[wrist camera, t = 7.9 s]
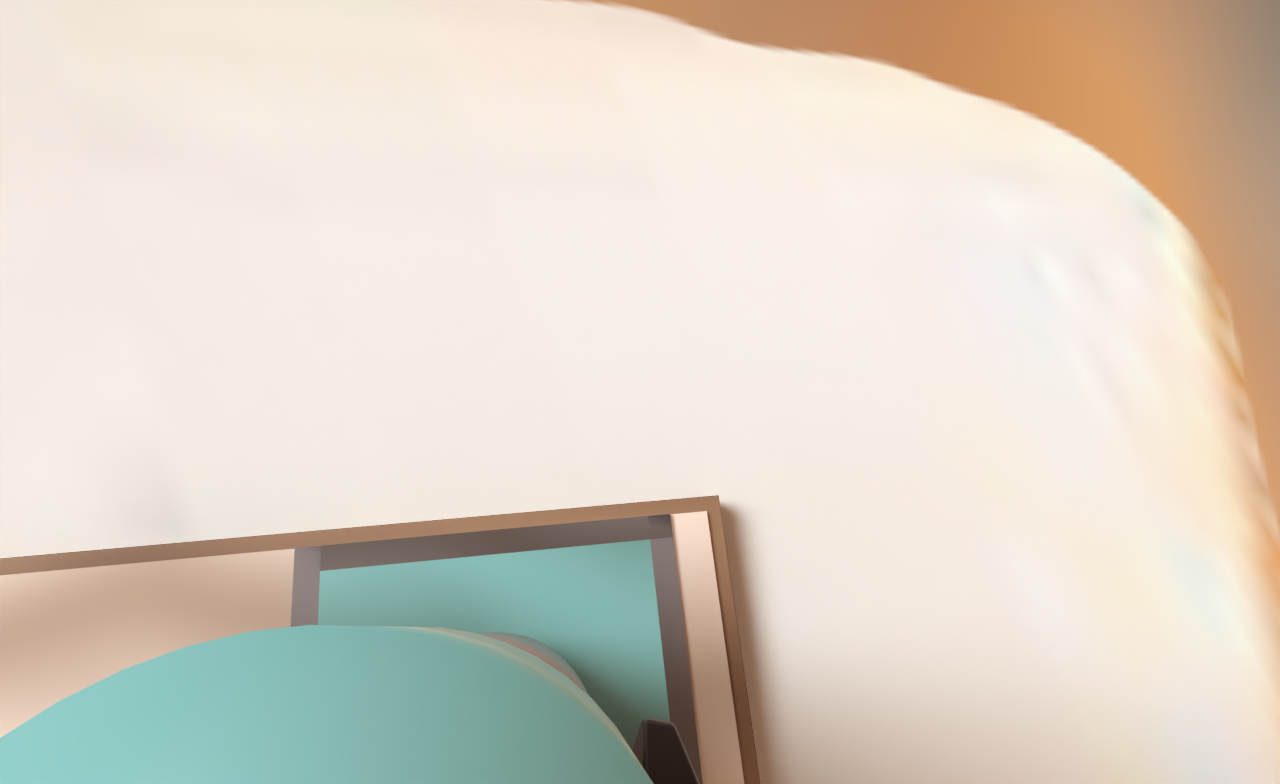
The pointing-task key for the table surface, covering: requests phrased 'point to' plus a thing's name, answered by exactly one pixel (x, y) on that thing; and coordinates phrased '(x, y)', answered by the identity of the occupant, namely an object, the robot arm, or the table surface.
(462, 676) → the teal rubber stamp
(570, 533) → the colouring board
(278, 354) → the table surface
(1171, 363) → the table surface
